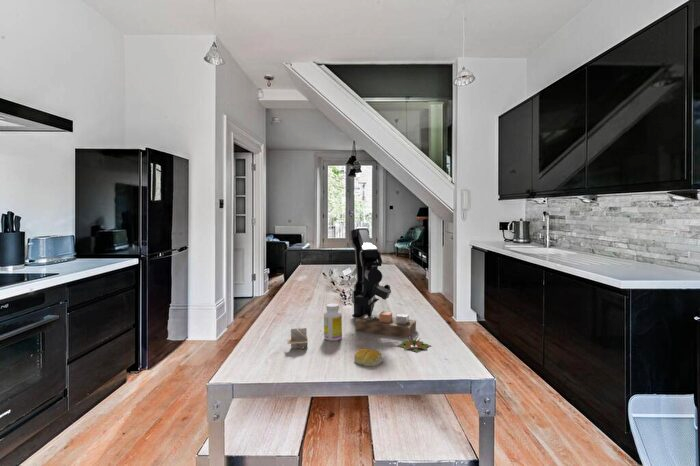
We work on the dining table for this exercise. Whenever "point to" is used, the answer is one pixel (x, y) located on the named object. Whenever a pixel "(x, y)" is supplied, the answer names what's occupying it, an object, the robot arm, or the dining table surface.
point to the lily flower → (413, 342)
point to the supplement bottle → (332, 323)
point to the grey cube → (369, 318)
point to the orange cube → (385, 317)
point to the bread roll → (368, 357)
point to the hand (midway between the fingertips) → (369, 316)
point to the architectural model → (298, 338)
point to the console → (386, 327)
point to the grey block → (402, 319)
